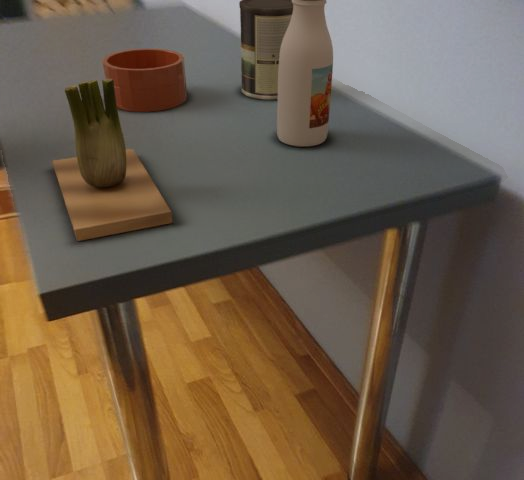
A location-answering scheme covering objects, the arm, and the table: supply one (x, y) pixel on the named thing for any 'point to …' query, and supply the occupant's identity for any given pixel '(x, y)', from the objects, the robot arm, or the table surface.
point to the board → (111, 200)
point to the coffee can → (262, 45)
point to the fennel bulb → (97, 133)
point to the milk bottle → (305, 76)
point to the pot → (147, 79)
